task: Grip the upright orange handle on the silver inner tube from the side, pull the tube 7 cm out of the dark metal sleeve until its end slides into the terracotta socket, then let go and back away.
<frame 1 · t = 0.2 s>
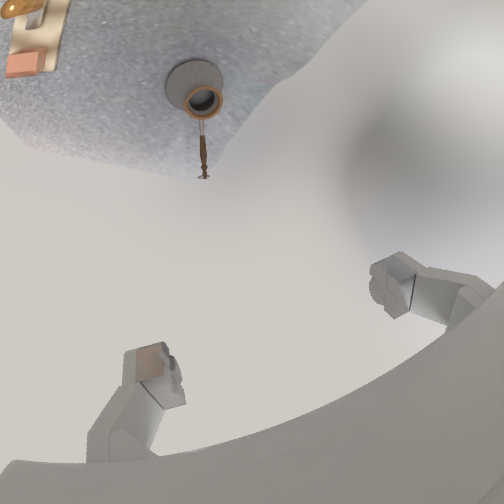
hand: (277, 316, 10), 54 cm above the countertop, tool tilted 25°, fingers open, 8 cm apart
socket: (26, 61, 26), on the board, point 4 cm above the countertop
coffee pot: (191, 102, 52), on the countertop
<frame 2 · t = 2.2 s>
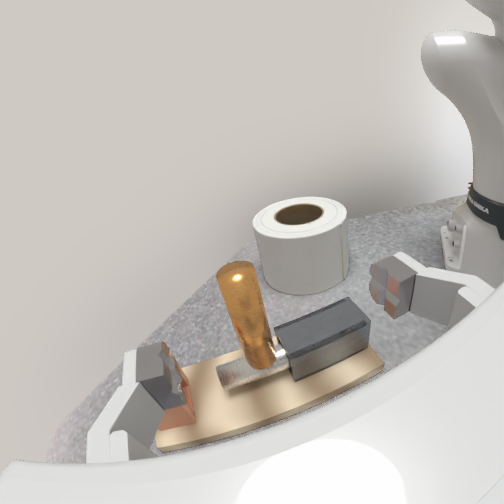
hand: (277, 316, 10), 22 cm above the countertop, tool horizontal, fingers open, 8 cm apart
socket: (165, 393, 27), on the board, point 4 cm above the countertop
toilet paper roll: (306, 268, 50), on the countertop
sleeve: (323, 339, 30), on the board, point 4 cm above the countertop
board: (288, 374, 31), on the countertop
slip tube: (279, 320, 27), point 9 cm above the countertop, slide at 0.0 cm
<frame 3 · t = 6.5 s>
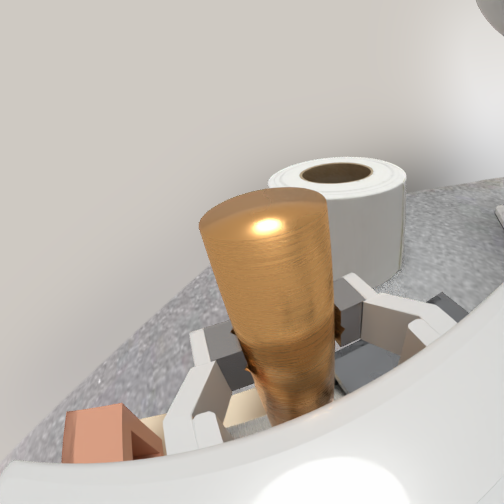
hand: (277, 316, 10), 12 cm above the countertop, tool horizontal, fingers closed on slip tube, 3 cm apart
socket: (116, 470, 11), on the board, point 4 cm above the countertop
toilet paper roll: (343, 256, 34), on the countertop
sleeve: (408, 370, 14), on the board, point 4 cm above the countertop
board: (340, 431, 15), on the countertop
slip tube: (353, 348, 11), point 9 cm above the countertop, slide at 0.0 cm, touching gripper
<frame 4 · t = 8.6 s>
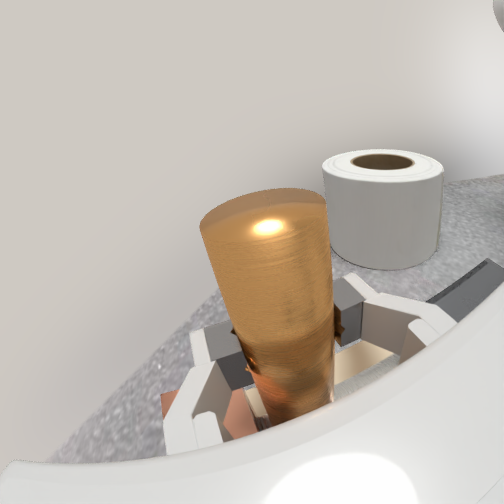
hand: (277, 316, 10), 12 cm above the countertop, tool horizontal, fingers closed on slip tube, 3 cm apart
socket: (224, 451, 12), on the board, point 4 cm above the countertop
toilet paper roll: (384, 239, 35), on the countertop
sleeve: (472, 320, 15), on the board, point 4 cm above the countertop
board: (419, 383, 16), on the countertop
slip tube: (353, 347, 11), point 9 cm above the countertop, slide at 7.0 cm, touching gripper
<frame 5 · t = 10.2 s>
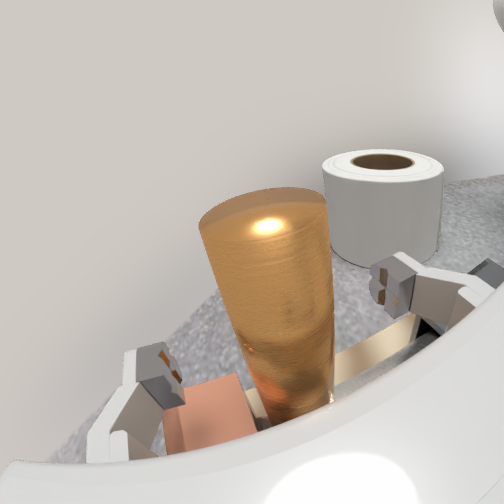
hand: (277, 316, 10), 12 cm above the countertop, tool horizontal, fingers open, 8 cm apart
socket: (224, 451, 12), on the board, point 4 cm above the countertop
toilet paper roll: (384, 239, 35), on the countertop
sleeve: (472, 320, 15), on the board, point 4 cm above the countertop
board: (419, 384, 16), on the countertop
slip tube: (353, 348, 11), point 9 cm above the countertop, slide at 7.0 cm
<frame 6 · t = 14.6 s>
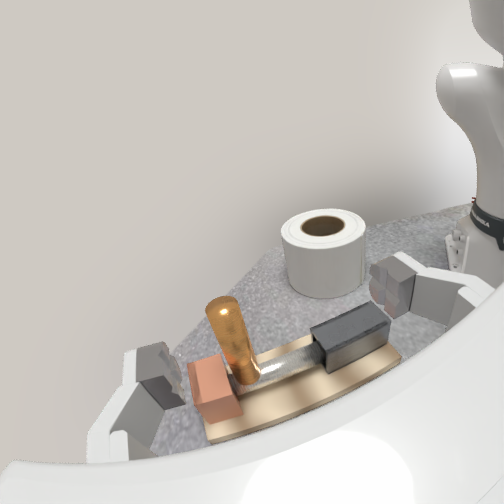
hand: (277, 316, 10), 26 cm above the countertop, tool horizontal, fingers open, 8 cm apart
socket: (214, 389, 31), on the board, point 4 cm above the countertop
toilet paper roll: (327, 274, 54), on the countertop
sleeve: (350, 337, 34), on the board, point 4 cm above the countertop
board: (320, 368, 35), on the countertop
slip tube: (262, 344, 30), point 9 cm above the countertop, slide at 7.0 cm
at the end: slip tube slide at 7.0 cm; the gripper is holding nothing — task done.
